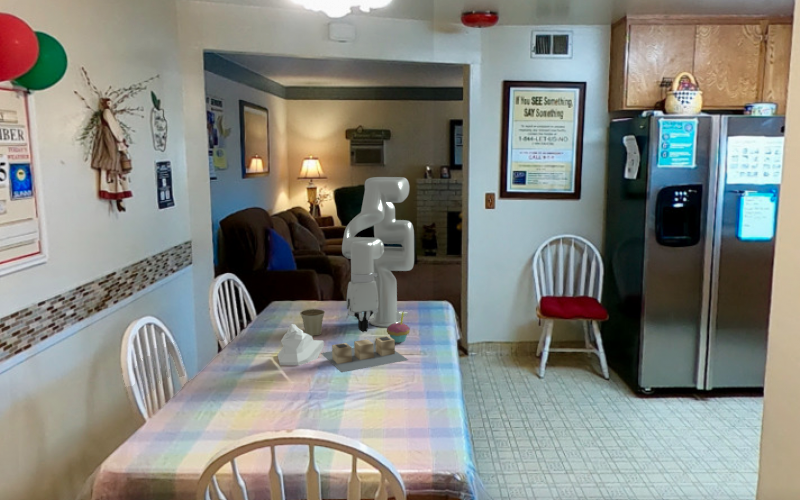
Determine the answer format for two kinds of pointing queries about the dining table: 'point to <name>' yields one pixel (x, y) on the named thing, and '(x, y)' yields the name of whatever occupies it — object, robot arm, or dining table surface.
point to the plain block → (363, 349)
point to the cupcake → (398, 331)
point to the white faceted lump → (298, 347)
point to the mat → (365, 361)
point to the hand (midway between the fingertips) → (363, 330)
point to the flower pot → (312, 321)
